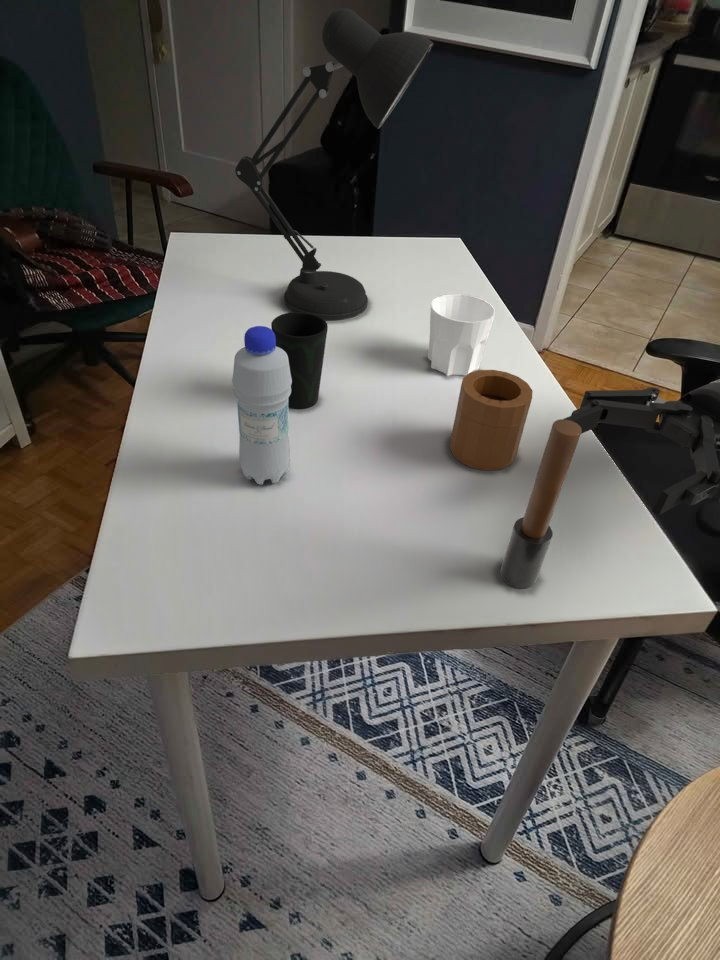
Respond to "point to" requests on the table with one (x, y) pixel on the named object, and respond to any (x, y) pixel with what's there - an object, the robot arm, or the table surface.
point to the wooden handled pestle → (540, 508)
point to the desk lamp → (381, 84)
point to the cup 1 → (302, 354)
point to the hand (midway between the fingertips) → (606, 465)
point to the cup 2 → (458, 332)
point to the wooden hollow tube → (490, 419)
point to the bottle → (262, 406)
